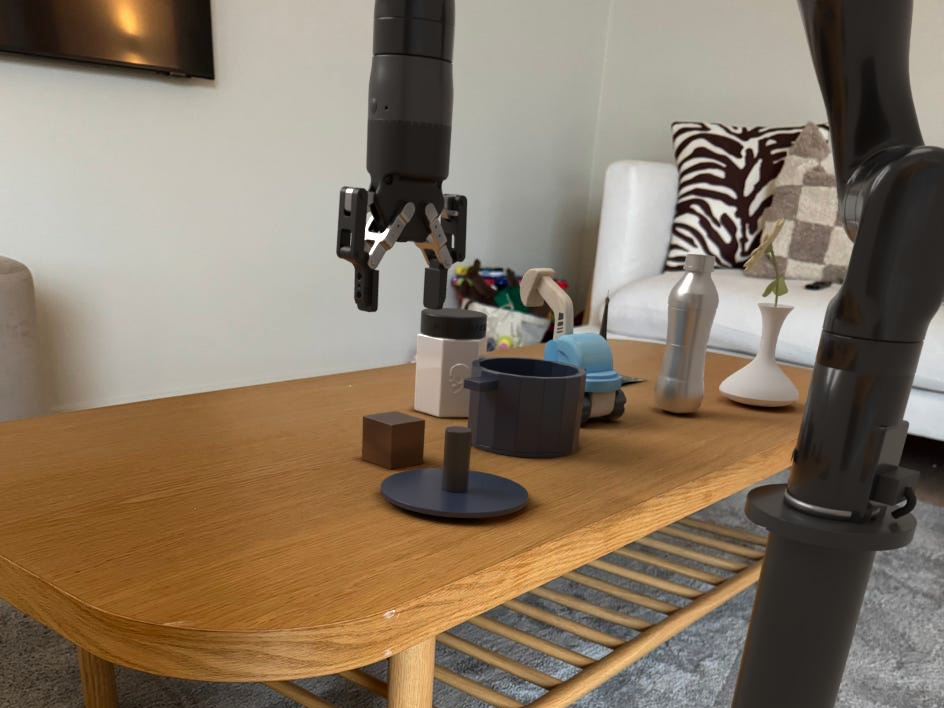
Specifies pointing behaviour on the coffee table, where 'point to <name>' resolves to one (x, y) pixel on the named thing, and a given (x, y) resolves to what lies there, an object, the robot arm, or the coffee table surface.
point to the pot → (525, 406)
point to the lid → (454, 485)
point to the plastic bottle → (687, 337)
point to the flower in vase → (765, 346)
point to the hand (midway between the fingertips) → (401, 309)
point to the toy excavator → (576, 347)
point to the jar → (447, 359)
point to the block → (393, 439)
